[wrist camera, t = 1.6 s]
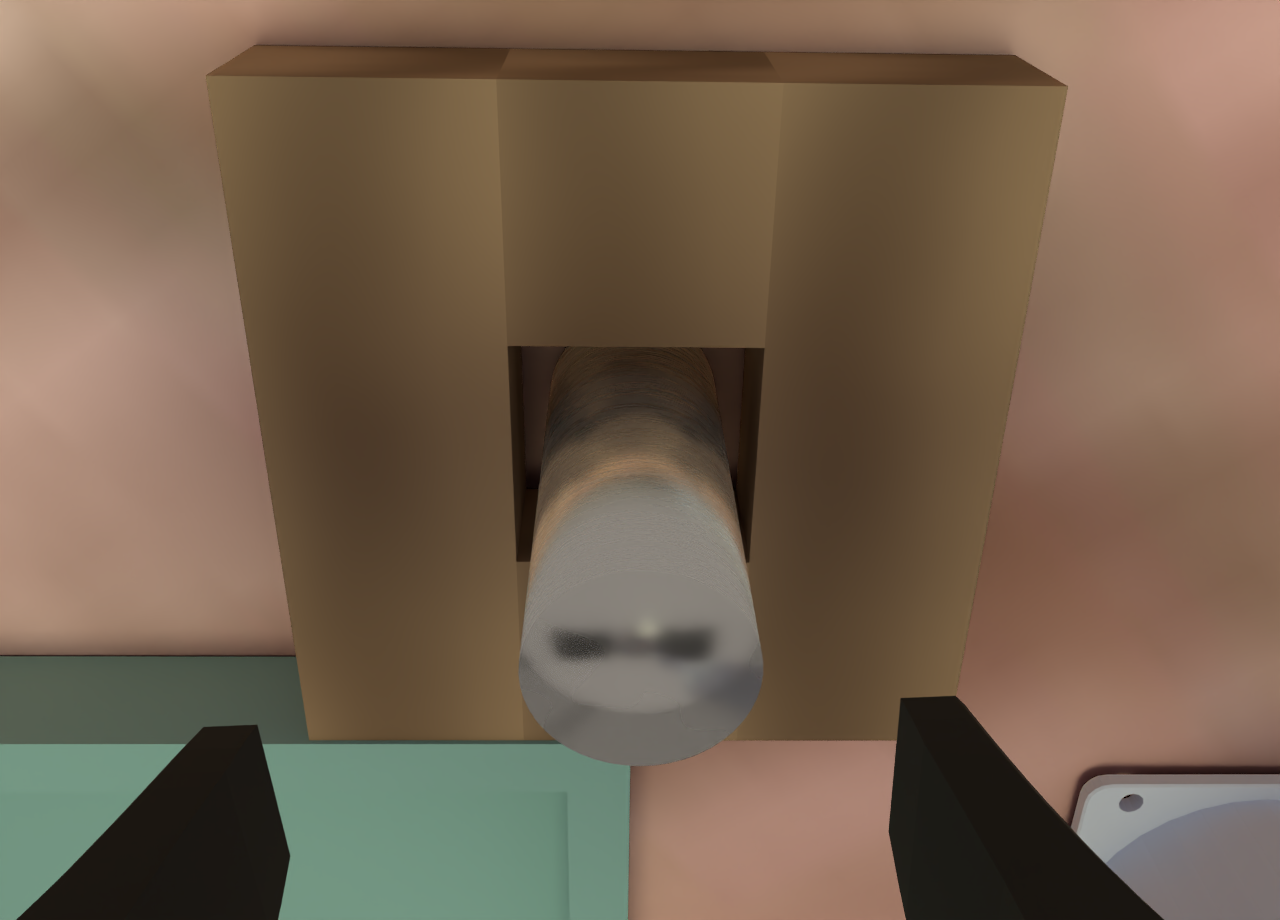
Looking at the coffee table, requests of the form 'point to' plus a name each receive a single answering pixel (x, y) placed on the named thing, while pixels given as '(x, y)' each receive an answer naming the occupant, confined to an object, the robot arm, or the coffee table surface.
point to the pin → (637, 563)
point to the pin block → (629, 343)
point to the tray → (311, 795)
